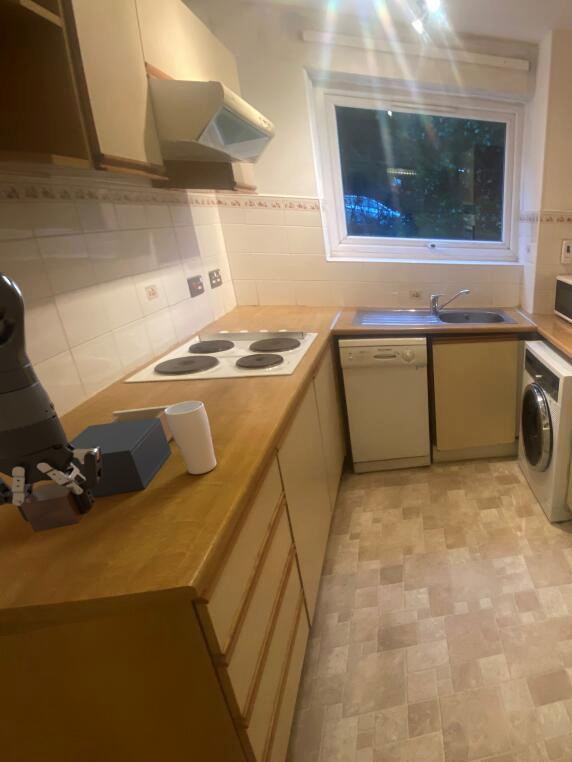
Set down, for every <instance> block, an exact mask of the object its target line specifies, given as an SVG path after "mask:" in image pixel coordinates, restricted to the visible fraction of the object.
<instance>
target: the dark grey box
mask: <svg viewBox="0 0 572 762" xmlns="http://www.w3.org/2000/svg"><path fill="white" fill-rule="evenodd" d="M68 442H69V443H70V444H71V445H72V446H74V447H75V448H76V449H90V448H91V447H93V446H99V447H100V448H101V458H102V475H103V477H102V479H101V480H100V481H99V482H98V484H97V486H96V487H95V488H90V491H91V493H92V495H93V497H94V498H99V497H105V496H111V495H118V494H124V493H131V492H137V491H144V490H146V488H147V487H148V486H149V484H150V483H151V482H152V480H153V479H154V477H155V476H156V475H157V473H158V472H159V471H160V470H161V468H162V467H163V465H164V464H165V463H166V461H167V460H168V459H169V457H170V456H171V454H172V450H171V447H170V445H169V442H168V441H167V438H166V435H165V432H164V429H163V426H162V424H161V421H160V418H151V419H142V420H134V421H125V422H117V423H108V424H106V423H100V424H93V425H92V424H91V425H88V426H87V427H86V428H84V429H83V430H82V431H81V432H80V433H79V434H77V435H76V436H75V437H74V438H73V439H71V440H70V441H68ZM71 463H72V464H74V465H75V466H76V467H77V468H78V469H79V471H80V474H82V475H83V476H84V477H85V464H81V463H80V461H79V459H78V458H75V457H74V458H73V460H72V462H71ZM64 474H65V473H64Z"/></svg>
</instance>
